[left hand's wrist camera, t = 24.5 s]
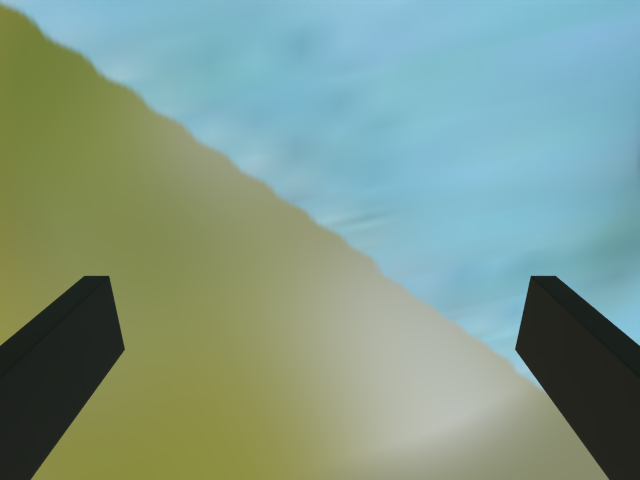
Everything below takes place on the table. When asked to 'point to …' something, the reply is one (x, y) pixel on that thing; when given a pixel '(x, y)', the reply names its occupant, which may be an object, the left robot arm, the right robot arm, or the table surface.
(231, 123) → the table surface
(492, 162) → the table surface
